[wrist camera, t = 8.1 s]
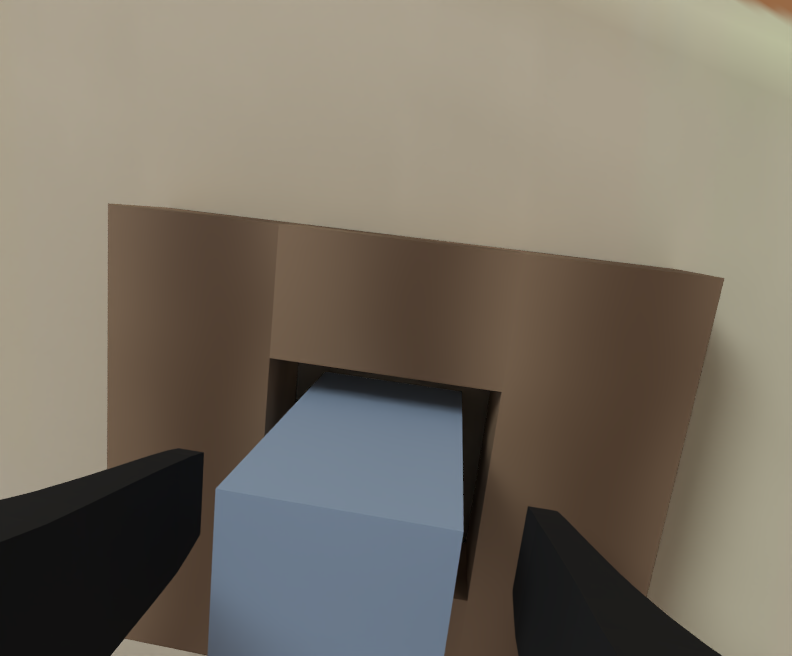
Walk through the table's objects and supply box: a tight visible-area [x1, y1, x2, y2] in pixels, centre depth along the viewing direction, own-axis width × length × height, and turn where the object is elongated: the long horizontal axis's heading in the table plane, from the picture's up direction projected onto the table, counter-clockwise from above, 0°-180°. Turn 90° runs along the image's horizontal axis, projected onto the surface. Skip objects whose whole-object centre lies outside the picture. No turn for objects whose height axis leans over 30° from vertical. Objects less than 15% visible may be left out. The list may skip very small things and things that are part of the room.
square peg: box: [208, 372, 464, 656], centre depth 12 cm, size 4×4×7 cm
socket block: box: [107, 204, 724, 656], centre depth 14 cm, size 14×12×2 cm
